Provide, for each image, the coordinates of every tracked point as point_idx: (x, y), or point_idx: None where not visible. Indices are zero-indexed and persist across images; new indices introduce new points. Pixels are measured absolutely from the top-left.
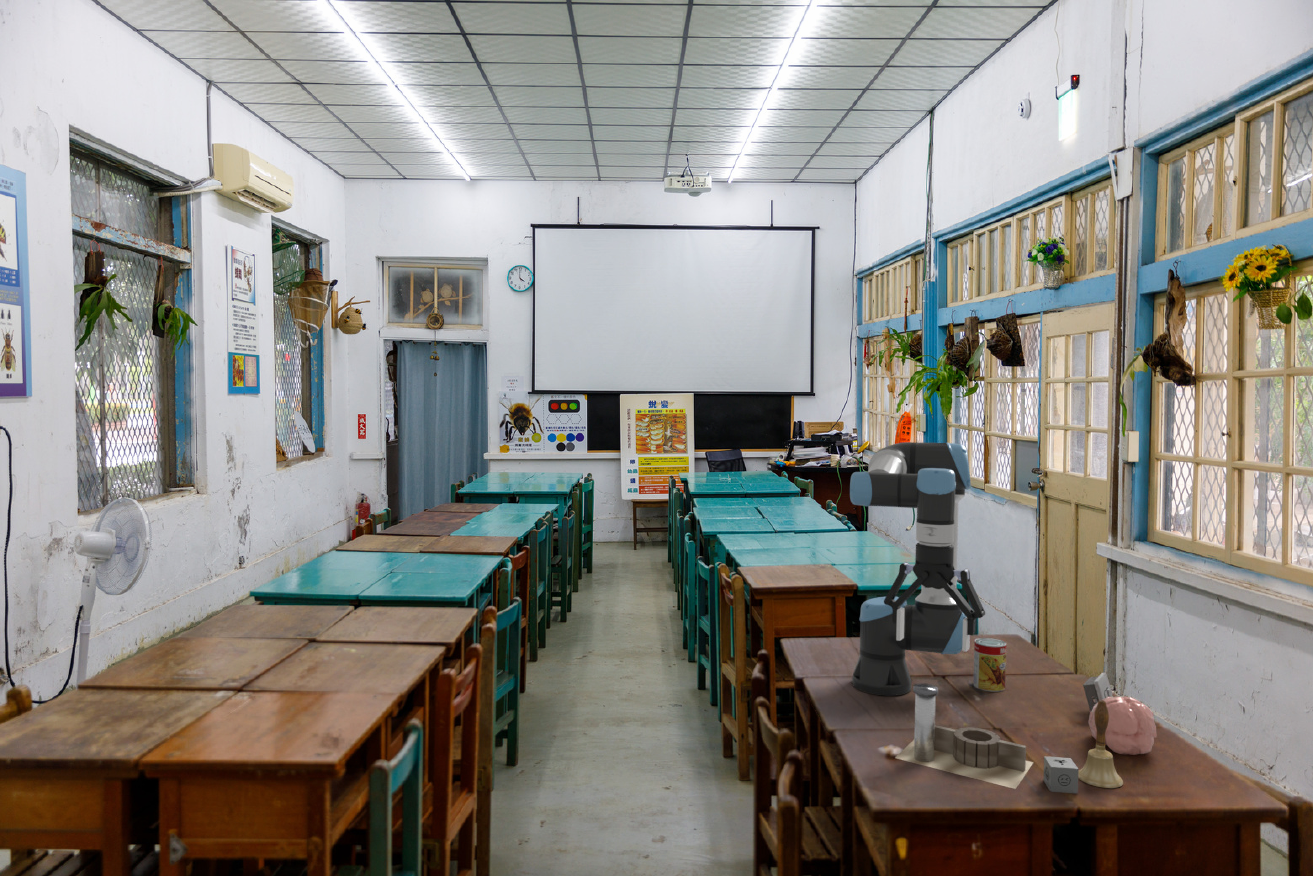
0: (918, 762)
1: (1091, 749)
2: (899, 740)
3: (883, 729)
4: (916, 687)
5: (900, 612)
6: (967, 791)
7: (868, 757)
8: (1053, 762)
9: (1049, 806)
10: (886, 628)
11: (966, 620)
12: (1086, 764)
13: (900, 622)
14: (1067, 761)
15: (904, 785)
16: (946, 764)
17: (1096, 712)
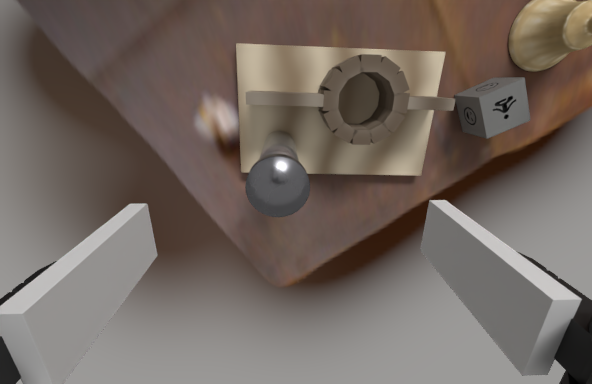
0: None
1: (574, 16)
2: (208, 67)
3: (158, 26)
4: (258, 201)
5: (67, 374)
6: (357, 197)
7: (200, 170)
8: (492, 117)
9: (459, 179)
10: None
11: (542, 370)
12: (541, 40)
13: (110, 313)
14: (516, 97)
15: (280, 226)
16: (317, 150)
17: None
